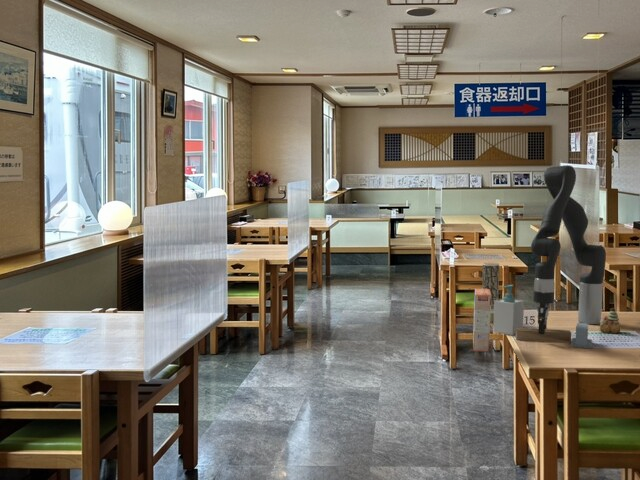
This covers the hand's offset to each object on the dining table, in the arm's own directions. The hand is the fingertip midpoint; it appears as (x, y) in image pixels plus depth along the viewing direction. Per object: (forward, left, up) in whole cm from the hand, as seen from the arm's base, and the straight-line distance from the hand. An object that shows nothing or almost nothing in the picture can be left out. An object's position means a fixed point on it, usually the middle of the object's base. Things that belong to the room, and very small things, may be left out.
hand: (542, 331), depth 273 cm
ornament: (-24, +24, -3) cm, 34 cm away
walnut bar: (0, 0, -4) cm, 4 cm away
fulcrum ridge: (+2, +14, -3) cm, 15 cm away
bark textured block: (-26, -24, -3) cm, 35 cm away
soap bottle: (-8, -14, -3) cm, 16 cm away
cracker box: (+21, -20, -3) cm, 29 cm away
